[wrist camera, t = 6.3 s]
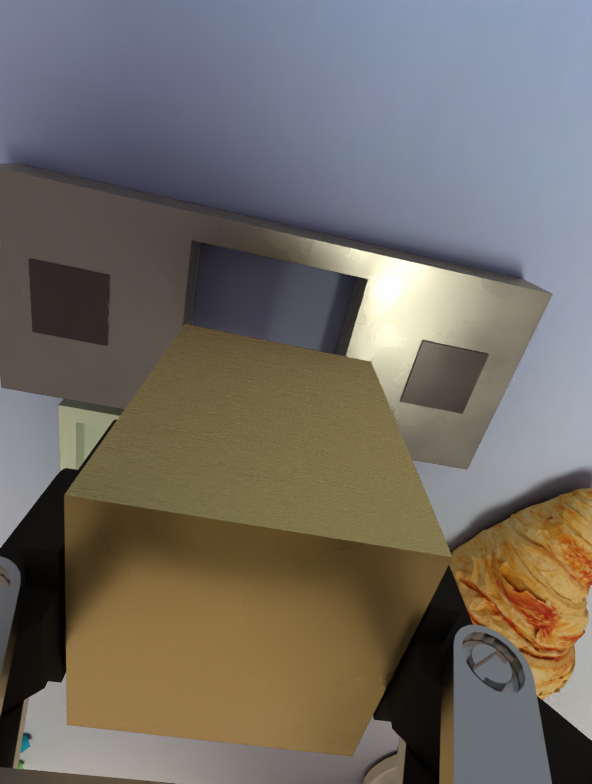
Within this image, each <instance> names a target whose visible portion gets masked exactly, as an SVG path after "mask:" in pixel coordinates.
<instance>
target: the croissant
mask: <svg viewBox="0 0 592 784" xmlns="http://www.w3.org/2000/svg"><path fill="white" fill-rule="evenodd" d="M451 555H452V557H453V558H452V560H451V561H450V563H449V565H450V568H451V570H452V573H453V576H454V578H455V581H456V583H457V586H458V588H459V591H460V593H461V596H462V598H463V601H464V603H465V606H466V608H467V611H468V613H469V616H470V618H471V621H472V623H473V625H481V626H484V627H487V628H491V629H492V630H494V631H496V632H498V633H500V634H502V635H503V636H504V637H505V638H507V639H508V640H509V641H510V642H512V643H513V644H514V645H515V646H516V647H517V649H518V650H519V651H520V652H521V653H522V654H523V656H524V657H525V659H526V661H527V662H528V664H529V666H530V668H531V671H532V674H533V677H534V682H535V688H536V694H537V696H538V697H539V698H540V699H542V700H543V699H544V698H545V697H548V696H550V695H552V694H553V693H555V692H559V691H560V688H563V687H564V685H565V684H566V682H567V681H568V679H569V678H570V676H571V674H572V672H573V669H574V666H575V648H574V644H575V642H576V641H577V640H578V639H579V638H580V637H581V636H582V635H583V634H584V633H585V631H584V629H585V627H586V626H587V624H588V611H587V609H586V605H587V602H586V598H585V597H586V596H587V595H588V593H589V588H590V586H591V585H592V488H584V489H577V490H574V491H573V492H571V493H566V494H560V495H559V496H557V497H555V498H553V499H550V500H548V501H546V502H544V503H540V504H536V505H533V506H529V507H527V508H525V509H523V510H521V511H518V512H517V513H516V514H512V515H511V516H510V517H509V518H508V519H506V520H504V521H503V522H501V523H499V524H496V525H495V526H493V527H491V528H489V529H485V530H482V531H481V532H480V533H479V534H478V535H476V536H475V537H474V538H472V539H471V540H470V541H468V542H466V543H464V544H462V545H460V546H459V547H458V548H456V549H455V550H453V552H452V554H451Z"/></svg>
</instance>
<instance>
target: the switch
mask: <svg viewBox="0 0 592 784" xmlns="http://www.w3.org/2000/svg"><path fill="white" fill-rule="evenodd" d="M201 242H202V243H207V244H211V245H216V246H220V247H225V248H229V249H234V250H238V251H243V252H247V253H252V254H256V255H261V256H266V257H270V258H275V259H279V260H284V261H288V262H293V263H297V264H302V265H306V266H311V267H315V268H320V269H324V270H329V271H334V272H338V273H343V274H347V275H352V276H356V280H355V284H354V287H353V291H352V294H351V298H350V302H349V305H348V309H347V312H346V316H345V320H344V323H343V327H342V330H341V334H340V338H339V341H338V345H337V348H336V352H335V354H336V355H341V356H346V357H351V358H356V359H361V360H365V361H370V362H372V365H373V367H374V370H375V372H376V374H377V377H378V379H379V382H380V384H381V386H382V389H383V391H384V394H385V396H386V398H387V401H388V403H389V406H390V408H391V410H392V413H393V415H394V418H395V420H396V422H397V425H398V427H399V430H400V432H401V434H402V437H403V439H404V442H405V444H406V446H407V449H408V451H409V454H410V456H411V458H412V460H416V461H422V462H428V463H433V464H439V465H445V466H450V467H456V468H462V469H468V467H469V465H470V463H471V461H472V458H473V456H474V454H475V452H476V450H477V448H478V446H479V444H480V442H481V440H482V438H483V436H484V434H485V432H486V430H487V428H488V426H489V424H490V422H491V419H492V417H493V415H494V413H495V411H496V409H497V407H498V405H499V403H500V401H501V399H502V397H503V395H504V393H505V391H506V389H507V387H508V385H509V383H510V380H511V378H512V376H513V374H514V372H515V370H516V368H517V366H518V364H519V362H520V360H521V358H522V356H523V354H524V352H525V350H526V348H527V346H528V343H529V341H530V339H531V337H532V335H533V333H534V331H535V329H536V327H537V325H538V323H539V321H540V319H541V317H542V315H543V313H544V311H545V309H546V307H547V304H548V302H549V300H550V298H551V296H552V293H550V292H548V291H546V290H544V289H542V288H540V287H538V286H536V285H534V284H532V283H530V282H528V281H526V280H524V279H520V278H516V277H511V276H507V275H502V274H498V273H494V272H489V271H485V270H481V269H476V268H472V267H468V266H463V265H459V264H455V263H450V262H446V261H441V260H437V259H433V258H428V257H424V256H420V255H415V254H411V253H407V252H402V251H398V250H394V249H389V248H385V247H380V246H376V245H372V244H367V243H363V242H359V241H354V240H350V239H346V238H341V237H337V236H333V235H328V234H324V233H319V232H315V231H311V230H306V229H302V228H298V227H293V226H289V225H285V224H280V223H276V222H272V221H267V220H263V219H258V218H254V217H250V216H245V215H241V214H237V213H232V212H228V211H224V210H219V209H215V208H211V207H206V206H202V205H197V204H193V203H189V202H184V201H180V200H176V199H171V198H167V197H163V196H158V195H154V194H150V193H145V192H141V191H136V190H132V189H128V188H123V187H119V186H115V185H110V184H106V183H102V182H97V181H93V180H89V179H84V178H80V177H75V176H71V175H67V174H62V173H58V172H54V171H49V170H45V169H41V168H36V167H32V166H28V165H23V164H0V376H1V387H2V388H7V389H13V390H18V391H24V392H30V393H35V394H41V395H47V396H53V397H58V398H64V399H70V400H75V401H81V402H87V403H92V404H98V405H104V406H109V407H115V408H121V409H125V408H126V407H127V406H128V404H129V403H130V401H131V400H132V398H133V397H134V396H135V394H136V393H137V391H138V390H139V389H140V387H141V386H142V384H143V383H144V381H145V380H146V379H147V377H148V376H149V374H150V373H151V372H152V370H153V369H154V367H155V366H156V365H157V363H158V362H159V360H160V359H161V357H162V356H163V355H164V353H165V352H166V350H167V349H168V348H169V346H170V345H171V343H172V342H173V340H174V339H175V338H176V336H177V335H178V333H179V332H180V331H181V329H182V328H183V326H184V325H185V324H188V325H192V319H193V311H194V302H195V294H196V285H197V277H198V268H199V260H200V251H201Z"/></svg>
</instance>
